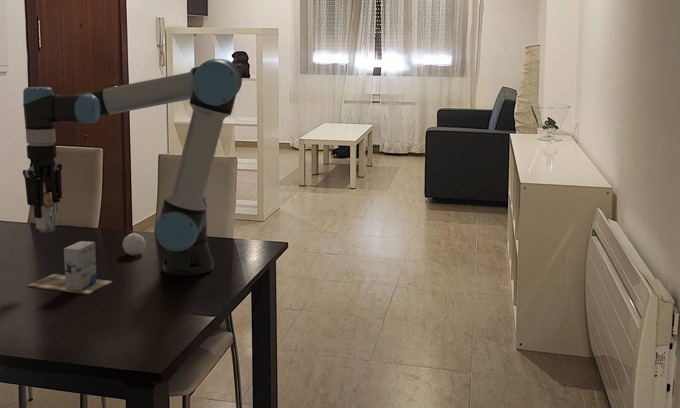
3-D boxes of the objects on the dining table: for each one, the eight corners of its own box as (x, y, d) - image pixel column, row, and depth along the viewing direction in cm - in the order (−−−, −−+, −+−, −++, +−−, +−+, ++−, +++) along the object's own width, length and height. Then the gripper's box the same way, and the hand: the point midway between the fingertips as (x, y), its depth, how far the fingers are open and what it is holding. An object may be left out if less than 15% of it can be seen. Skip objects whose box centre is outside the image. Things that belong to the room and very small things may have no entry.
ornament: (118, 256, 237) (118, 233, 240) (138, 260, 242) (138, 238, 245) (129, 249, 232) (129, 226, 236) (150, 253, 238) (150, 230, 241)
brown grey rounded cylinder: (57, 229, 208) (55, 191, 206) (48, 233, 205) (45, 194, 202) (45, 228, 210) (43, 190, 207) (36, 231, 206) (33, 193, 204)
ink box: (82, 279, 212) (80, 240, 209) (98, 281, 211) (96, 241, 208) (65, 289, 204) (62, 248, 201) (81, 290, 203) (78, 249, 200)
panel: (112, 282, 211) (112, 281, 211) (88, 294, 201) (88, 293, 201) (53, 275, 217) (53, 273, 217) (27, 286, 207) (27, 285, 207)
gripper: (50, 139, 211) (55, 219, 216) (7, 147, 195) (14, 232, 200) (72, 141, 209) (77, 221, 214) (31, 148, 193) (37, 235, 198)
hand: (46, 226), depth 207 cm, fingers closed on brown grey rounded cylinder, 4 cm apart
